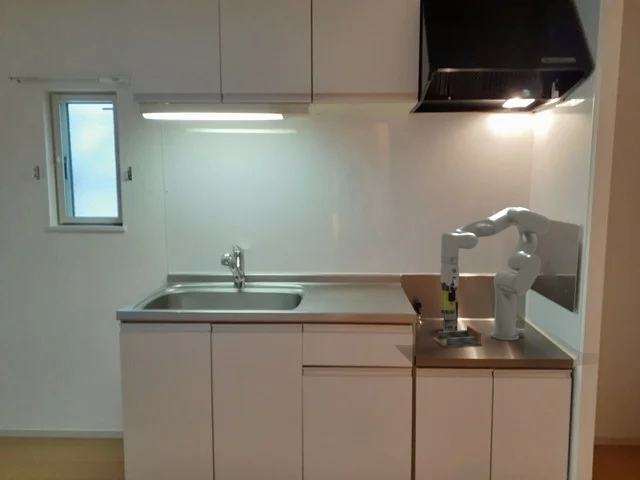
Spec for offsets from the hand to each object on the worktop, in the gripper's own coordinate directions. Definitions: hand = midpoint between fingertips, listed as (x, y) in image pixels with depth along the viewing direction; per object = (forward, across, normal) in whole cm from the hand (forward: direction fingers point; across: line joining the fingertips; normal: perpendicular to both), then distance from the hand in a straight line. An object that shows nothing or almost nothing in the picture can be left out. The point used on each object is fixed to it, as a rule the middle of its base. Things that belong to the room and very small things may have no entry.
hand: (448, 299), depth 215 cm
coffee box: (+21, +16, -9) cm, 28 cm away
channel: (+21, 0, -5) cm, 21 cm away
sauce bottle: (+7, 0, 0) cm, 7 cm away
